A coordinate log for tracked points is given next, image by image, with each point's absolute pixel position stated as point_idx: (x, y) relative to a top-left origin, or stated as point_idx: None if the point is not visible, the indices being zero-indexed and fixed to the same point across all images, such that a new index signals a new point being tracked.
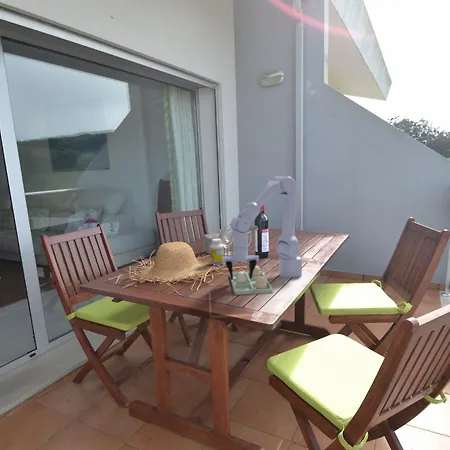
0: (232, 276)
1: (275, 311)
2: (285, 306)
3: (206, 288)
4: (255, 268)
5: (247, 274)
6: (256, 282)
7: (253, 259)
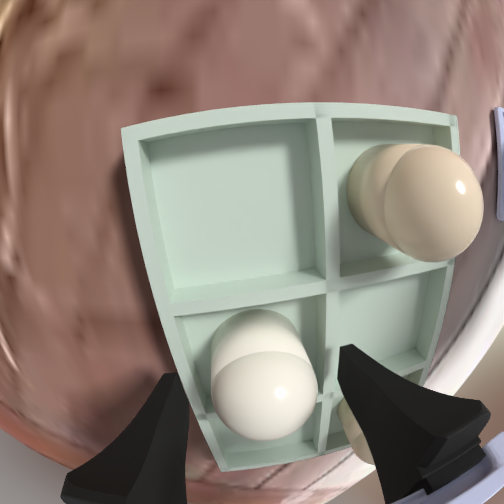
0: (185, 431)
1: (349, 481)
2: None
3: (40, 358)
4: (448, 257)
5: (332, 188)
6: (354, 452)
7: (454, 488)
